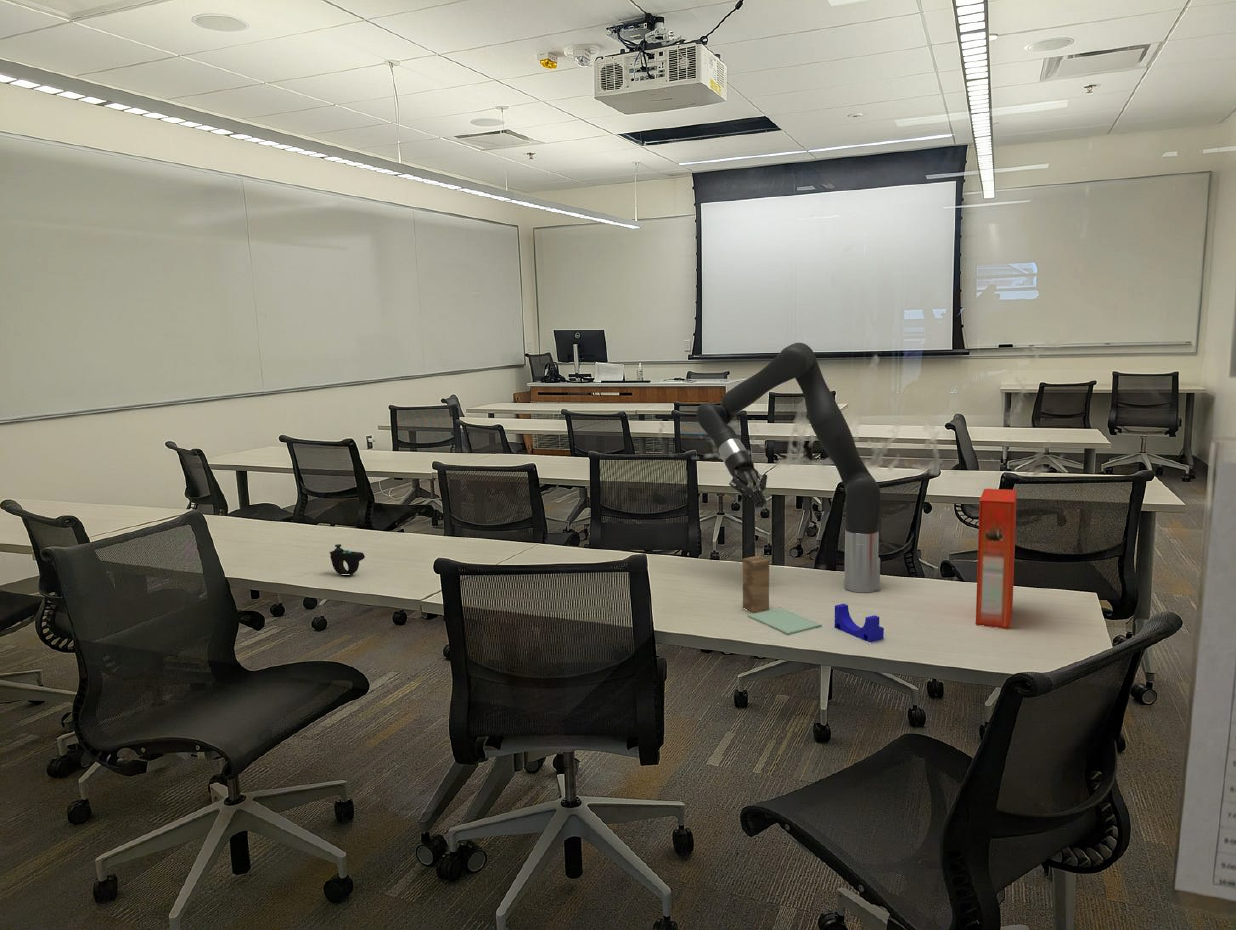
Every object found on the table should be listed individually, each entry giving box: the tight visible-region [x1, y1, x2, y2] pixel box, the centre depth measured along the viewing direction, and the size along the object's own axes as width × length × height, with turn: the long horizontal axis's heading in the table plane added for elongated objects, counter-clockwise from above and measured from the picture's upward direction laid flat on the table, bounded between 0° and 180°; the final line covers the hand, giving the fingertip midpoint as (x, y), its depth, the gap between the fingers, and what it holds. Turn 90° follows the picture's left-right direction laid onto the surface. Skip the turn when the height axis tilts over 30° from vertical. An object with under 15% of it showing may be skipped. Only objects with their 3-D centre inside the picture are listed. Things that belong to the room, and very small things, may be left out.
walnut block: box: [742, 555, 770, 614], centre depth 217 cm, size 5×5×14 cm
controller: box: [329, 543, 366, 575], centre depth 261 cm, size 4×12×10 cm, turn 67°
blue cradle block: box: [833, 603, 885, 643], centre depth 198 cm, size 12×4×6 cm, turn 28°
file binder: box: [975, 488, 1018, 630], centre depth 205 cm, size 8×17×32 cm, turn 152°
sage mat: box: [747, 607, 823, 636], centre depth 208 cm, size 16×11×1 cm
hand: (762, 504), depth 229 cm, fingers closed
